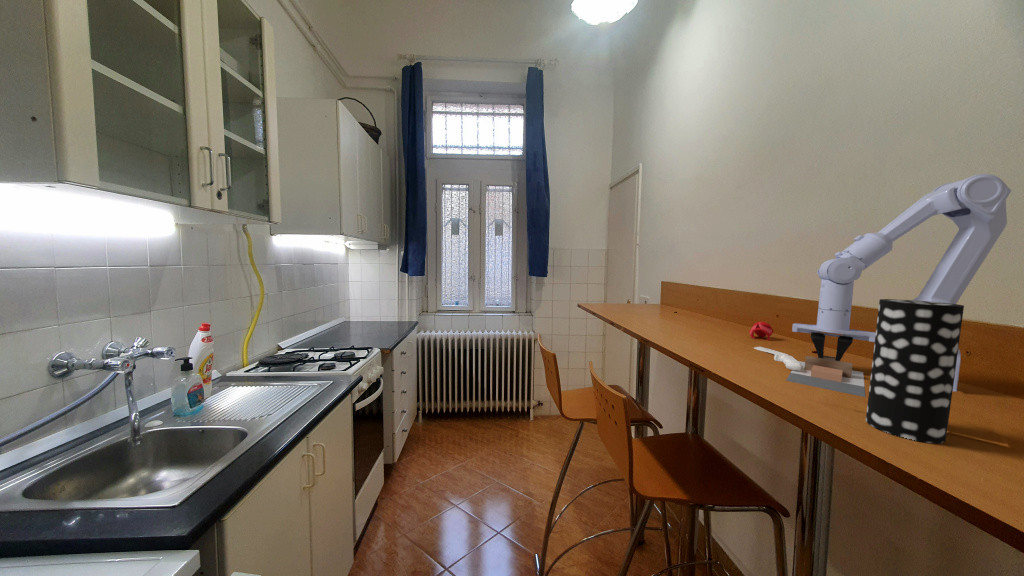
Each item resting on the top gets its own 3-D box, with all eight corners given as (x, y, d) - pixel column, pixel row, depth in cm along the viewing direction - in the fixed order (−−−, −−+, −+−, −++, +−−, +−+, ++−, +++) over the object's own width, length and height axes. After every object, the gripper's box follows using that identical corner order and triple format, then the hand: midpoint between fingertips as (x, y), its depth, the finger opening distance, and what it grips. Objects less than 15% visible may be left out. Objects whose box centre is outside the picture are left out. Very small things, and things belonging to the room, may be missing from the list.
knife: (746, 341, 110) (777, 343, 107) (746, 346, 110) (777, 349, 107) (762, 360, 84) (803, 364, 80) (762, 367, 84) (803, 371, 80)
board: (862, 374, 82) (863, 372, 82) (865, 399, 67) (865, 396, 67) (797, 362, 91) (797, 360, 91) (785, 382, 75) (786, 380, 75)
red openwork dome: (775, 333, 114) (778, 321, 117) (755, 324, 116) (758, 314, 120) (764, 348, 119) (767, 337, 122) (745, 340, 122) (748, 329, 125)
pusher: (851, 372, 82) (852, 360, 82) (851, 378, 78) (852, 365, 77) (806, 364, 87) (808, 352, 87) (804, 369, 83) (805, 357, 83)
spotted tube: (938, 429, 55) (955, 303, 53) (952, 450, 49) (972, 307, 47) (863, 413, 60) (876, 298, 59) (867, 429, 54) (882, 301, 52)
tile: (841, 377, 78) (842, 370, 78) (841, 382, 75) (842, 374, 75) (812, 371, 82) (813, 364, 82) (810, 376, 78) (811, 369, 78)
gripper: (877, 311, 80) (871, 369, 81) (796, 304, 90) (791, 356, 91) (879, 314, 75) (872, 376, 76) (793, 307, 85) (788, 361, 86)
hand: (828, 366), depth 83 cm, fingers closed on pusher, 2 cm apart
